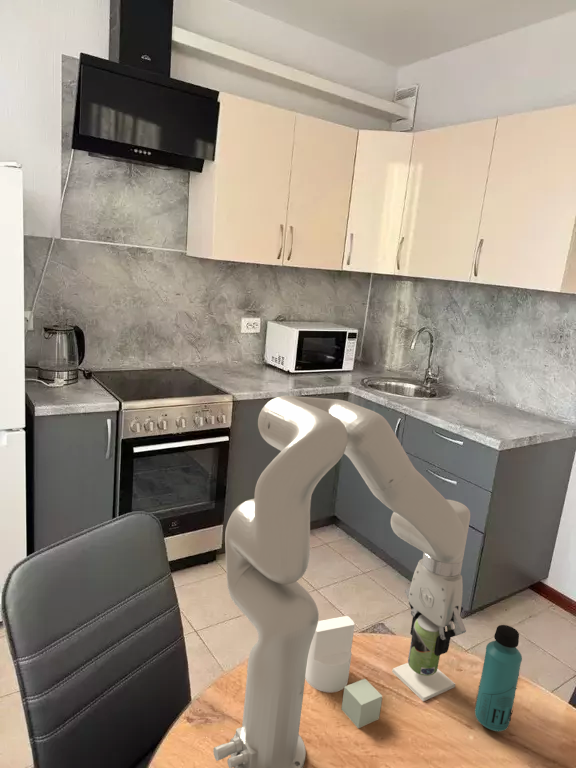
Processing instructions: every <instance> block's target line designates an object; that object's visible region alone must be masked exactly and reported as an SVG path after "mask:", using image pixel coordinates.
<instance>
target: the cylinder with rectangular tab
mask: <svg viewBox="0 0 576 768" xmlns="http://www.w3.org/2000/svg"><path fill="white" fill-rule="evenodd" d="M355 625H356V624H355V622H354V621H353V619H351V617H349V616H348V615H345V616H339V617H338V616H337V617H333V618H328V619H324V620H318V624H317V628H316V631H315V634H314V636H313V639H312V642H311V645H310V649H309V654H308V659H307V666H306V674H305V682H307V684H308V685H309V686H310V687H312V688H313V689H315V690H317V691H320V692H323V693H337V692H339V691H342V690H344V687H345V686H347V685H348V681H349V678H350V677H349V676H350V666H351V661H352V654H353V653H352V647H353V639H354V632H355V627H356V626H355Z"/></svg>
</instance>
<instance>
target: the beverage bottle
mask: <svg viewBox="0 0 576 768" xmlns="http://www.w3.org/2000/svg"><path fill="white" fill-rule="evenodd" d="M493 638H494V640H492V641H489V642H488V643H487V645H486V648H485V655H484V658H483V659H484V660H483V666H482V671H481V676H480V680H479V684H478V687H477V689H478V690H477V694H476V698H475V703H474V705H475V706H474V714H475V718H476V720H477V721H478V722H479V724H480V725H482V726H483V727H484V728H486V729H488V730H491V731H494V732H503V731H506V730H507V729H508V728H509V726H510V723H511V722H512V721H511V720H512V716H513V711H514V709H513V708H514V705H515V702H514V701H515V699H516V691H517V690H518V688H517V687H518V685H519V684H518V682H519V681H518V680H519V677H520V671H521V664H522V661H523V656H522V654H521V652H520V650H519V649H518V648H517V647H518V646H519V642H520V641H519V640H520V633H519V631H518V630H517V629H516V628H514V627H512V626H510V625H506V624H499V625H498V626H497V627H496V630H495V633H494V637H493Z"/></svg>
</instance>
